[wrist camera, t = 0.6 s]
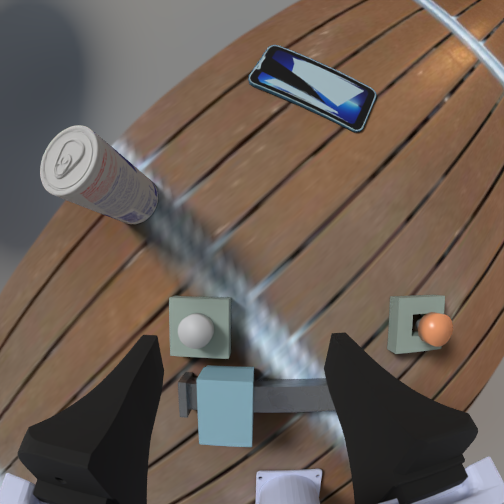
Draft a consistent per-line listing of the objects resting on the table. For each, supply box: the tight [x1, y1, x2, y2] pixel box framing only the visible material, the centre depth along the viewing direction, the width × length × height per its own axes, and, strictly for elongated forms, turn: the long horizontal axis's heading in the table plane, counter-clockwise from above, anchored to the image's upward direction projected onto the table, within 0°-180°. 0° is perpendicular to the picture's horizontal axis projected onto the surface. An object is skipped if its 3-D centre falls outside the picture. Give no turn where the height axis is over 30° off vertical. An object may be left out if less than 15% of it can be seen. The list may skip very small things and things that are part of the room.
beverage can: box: [40, 126, 158, 224], centre depth 27 cm, size 6×6×15 cm
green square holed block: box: [387, 295, 445, 354], centre depth 32 cm, size 6×6×2 cm
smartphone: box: [249, 45, 376, 132], centre depth 35 cm, size 7×1×15 cm
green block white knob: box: [169, 296, 231, 359], centre depth 31 cm, size 6×6×5 cm
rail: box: [178, 372, 335, 418], centre depth 31 cm, size 4×22×4 cm, turn 89°
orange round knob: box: [415, 312, 453, 347], centre depth 29 cm, size 3×3×4 cm
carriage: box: [197, 365, 254, 447], centre depth 30 cm, size 7×5×6 cm
